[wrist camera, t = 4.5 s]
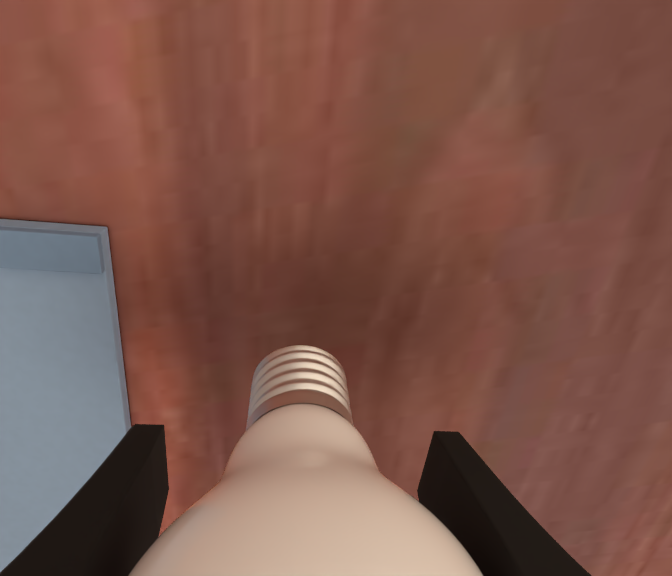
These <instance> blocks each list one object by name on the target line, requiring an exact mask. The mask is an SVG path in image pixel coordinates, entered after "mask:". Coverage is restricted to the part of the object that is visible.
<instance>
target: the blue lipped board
mask: <svg viewBox="0 0 672 576" xmlns="http://www.w3.org/2000/svg"><path fill="white" fill-rule="evenodd" d="M130 428H131V421H130V413H129V405H128V396H127V388H126V379H125V371H124V363H123V354H122V346H121V337H120V329H119V321H118V312H117V304H116V295H115V287H114V279H113V270H112V262H111V253H110V245H109V237H108V228H107V227H104V226H90V225H77V224H64V223H50V222H37V221H24V220H10V219H0V572H1V571H2V570H3V569H4V568H5V567H6V566H7V565H8V564H9V563H10V562H11V561H13V560H14V559H15V558H16V557H17V556H18V555H19V554H20V553H21V552H22V551H23V550H24V549H25V547H26V546H27V545H28V544H29V543H30V542H31V541H32V540H33V539H34V538H35V537H36V536H37V535H38V534H39V533H40V532H41V531H42V530H43V529H44V528H45V527H46V526H47V525H48V524H49V523H50V522H51V521H52V520H53V519H54V517H55V516H56V515H57V514H58V513H59V512H60V511H61V510H62V509H63V508H64V507H65V505H66V504H67V503H68V502H69V501H70V500H71V499H72V498H73V496H74V495H75V494H76V493H77V492H78V491H79V490H80V489H81V487H82V486H83V485H84V484H85V483H86V482H87V481H88V480H89V478H90V477H91V476H92V475H93V474H94V473H95V471H96V470H97V469H98V468H99V467H100V465H101V464H102V463H103V462H104V461H105V459H106V458H107V457H108V456H109V455H110V453H111V452H112V451H113V450H114V448H115V447H116V446H117V445H118V443H119V442H120V441H121V440H122V438H123V437H124V436H125V434H126V433H127V432H128V431H129V429H130Z"/></svg>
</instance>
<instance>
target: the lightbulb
mask: <svg viewBox="0 0 672 576" xmlns="http://www.w3.org/2000/svg"><path fill="white" fill-rule="evenodd" d="M128 576H484V575H483V574H482V572H481V571H480V569H479V567H478V566H477V565H476V563H475V562H474V560H473V559H472V557H471V556H470V555H469V553H468V552H467V551H466V549H465V548H464V547H463V545H462V544H461V543H460V542H459V541H458V539H457V538H456V537H455V536H454V535H453V534H452V532H451V531H450V530H449V529H448V528H447V527H446V526H445V525H444V524H443V523H442V522H441V521H440V520H439V519H438V518H437V517H436V516H435V515H434V514H433V513H431V512H430V511H429V510H428V509H427V508H426V507H425V506H424V505H422V504H421V503H420V502H419V501H417V500H416V499H415V498H414V497H412V496H411V495H410V494H409V493H407V492H406V491H404V490H403V489H402V488H400V487H399V486H398V485H396V484H395V483H393V482H392V481H391V480H389V479H388V478H387V477H385V476H384V475H383V474H382V473H381V472H380V470H379V468H378V466H377V464H376V462H375V460H374V458H373V455H372V453H371V451H370V449H369V447H368V445H367V443H366V441H365V440H364V438H363V437H362V436H361V434H360V433H359V432H358V430H357V429H356V428H355V427H354V424H353V420H352V414H351V409H350V401H349V397H348V389H347V382H346V375H345V372H344V370H343V368H342V366H341V364H340V363H339V361H338V360H337V359H336V358H335V357H334V356H332V355H331V354H330V353H328V352H326V351H324V350H322V349H320V348H317V347H313V346H307V345H294V346H288V347H284V348H281V349H278V350H276V351H274V352H272V353H271V354H269V355H268V356H266V357H265V358H264V359H263V360H262V361H261V362H260V363H259V365H258V366H257V368H256V370H255V372H254V375H253V379H252V386H251V395H250V401H249V409H248V419H247V426H246V431H245V433H244V434H243V435H242V436H241V438H240V439H239V441H238V442H237V444H236V445H235V447H234V449H233V451H232V453H231V455H230V457H229V460H228V462H227V465H226V467H225V470H224V472H223V474H222V477H221V479H220V480H219V482H218V483H217V484H216V485H215V486H214V487H213V488H212V489H210V490H209V491H208V492H207V493H206V494H204V495H203V496H202V497H201V498H200V499H198V500H197V501H196V502H195V503H194V504H192V505H191V506H190V507H189V508H188V509H187V510H186V511H184V512H183V513H182V514H181V515H180V516H179V517H178V518H177V519H176V520H175V521H174V522H173V523H172V524H171V525H170V526H169V527H168V528H167V529H166V530H165V531H164V532H163V533H162V534H161V535H160V536H159V537H158V538H157V539H156V540H155V542H154V543H153V544H152V545H151V546H150V547H149V548H148V550H147V551H146V552H145V553H144V554H143V556H142V557H141V558H140V560H139V561H138V562H137V564H136V565H135V566H134V568H133V569H132V570H131V572H130V573H129V575H128Z"/></svg>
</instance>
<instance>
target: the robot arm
mask: <svg viewBox="0 0 672 576" xmlns="http://www.w3.org/2000/svg"><path fill="white" fill-rule="evenodd" d="M168 490H169V486H168V472H167V458H166V445H165V431H164V425H146V424H135V425H134V426H132V427H131V428H130V429H129V431H128V432H127V433H126V434H125V436H124V437H123V438H122V440H121V441H120V442H119V443H118V445H117V446H116V447H115V448H114V450H113V451H112V452H111V453H110V455H109V456H108V457H107V458H106V459H105V461H104V462H103V463H102V464H101V465H100V467H99V468H98V469H97V470H96V471H95V473H94V474H93V475H92V476H91V477H90V478H89V480H88V481H87V482H86V483H85V484H84V485H83V486H82V487H81V489H80V490H79V491H78V492H77V493H76V494H75V495H74V496H73V498H72V499H71V500H70V501H69V502H68V503H67V504H66V505H65V507H64V508H63V509H62V510H61V511H60V512H59V513H58V514H57V515H56V516H55V517H54V519H53V520H52V521H51V522H50V523H49V524H48V525H47V526H46V527H45V528H44V529H43V530H42V531H41V532H40V533H39V534H38V535H37V536H36V537H35V538H34V539H33V540H32V541H31V542H30V543H29V544H28V545H27V546H26V547H25V549H24V550H23V551H22V552H21V553H20V554H19V555H18V556H17V557H16V558H15V559H14V560H13V561H11V562H10V563H9V564H8V565H7V566H6V567H5V568H4V569H3V570H2V571H1V572H0V576H128V575H129V573H130V572H131V570H132V569H133V568H134V566H135V565H136V564H137V562H138V561H139V560H140V558H141V557H142V556H143V554H144V553H145V552H146V551H147V550H148V548H149V547H150V546H151V545H152V544H153V543H154V542H155V540H156V539H157V538H158V536H159V532H160V527H161V523H162V518H163V514H164V509H165V504H166V500H167V495H168ZM417 491H418V497H419V502H420V503H421V504H422V505H424V506H425V507H426V508H427V509H428V510H429V511H430V512H431V513H433V514H434V515H435V516H436V517H437V518H438V519H439V520H440V521H441V522H442V523H443V524H444V525H445V526H446V527H447V528H448V529H449V530H450V531H451V532H452V534H453V535H454V536H455V537H456V538H457V539H458V541H459V542H460V543H461V544H462V545H463V547H464V548H465V549H466V551H467V552H468V553H469V555H470V556H471V557H472V559H473V560H474V562H475V563H476V565H477V566H478V567H479V569H480V571H481V572H482V574H483V575H484V576H591V575H590V574H589V573H588V572H587V571H586V570H585V569H584V568H583V567H582V566H580V565H579V564H578V563H577V562H576V561H575V560H574V559H573V558H572V557H571V556H570V555H569V554H568V553H567V552H566V551H565V550H564V549H563V548H562V547H561V546H560V545H559V544H558V543H557V542H556V541H555V540H554V539H553V538H552V537H551V536H550V535H549V534H548V533H547V532H546V531H545V530H544V529H543V528H542V527H541V525H540V524H539V523H538V522H537V521H536V520H535V519H534V518H533V517H532V516H531V515H530V514H529V513H528V511H527V510H526V509H525V508H524V507H523V506H522V505H521V504H520V503H519V502H518V500H517V499H516V498H515V497H514V496H513V495H512V494H511V493H510V491H509V490H508V489H507V488H506V487H505V486H504V485H503V483H502V482H501V481H500V480H499V479H498V478H497V476H496V475H495V474H494V473H493V472H492V471H491V469H490V468H489V467H488V466H487V465H486V464H485V462H484V461H483V460H482V459H481V458H480V456H479V455H478V454H477V453H476V452H475V451H474V449H473V448H472V447H471V446H470V445H469V443H468V442H467V441H466V440H465V439H464V438H463V436H462V435H461V434H460V433H459V432H445V431H434V433H433V437H432V440H431V444H430V447H429V451H428V454H427V458H426V462H425V465H424V469H423V472H422V476H421V479H420V483H419V486H418V490H417Z"/></svg>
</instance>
